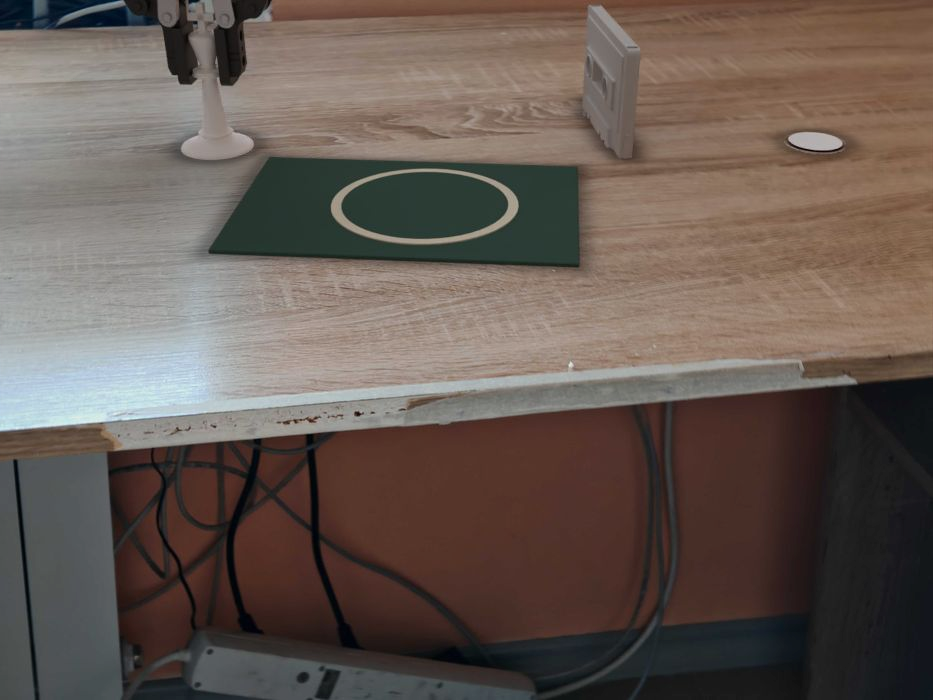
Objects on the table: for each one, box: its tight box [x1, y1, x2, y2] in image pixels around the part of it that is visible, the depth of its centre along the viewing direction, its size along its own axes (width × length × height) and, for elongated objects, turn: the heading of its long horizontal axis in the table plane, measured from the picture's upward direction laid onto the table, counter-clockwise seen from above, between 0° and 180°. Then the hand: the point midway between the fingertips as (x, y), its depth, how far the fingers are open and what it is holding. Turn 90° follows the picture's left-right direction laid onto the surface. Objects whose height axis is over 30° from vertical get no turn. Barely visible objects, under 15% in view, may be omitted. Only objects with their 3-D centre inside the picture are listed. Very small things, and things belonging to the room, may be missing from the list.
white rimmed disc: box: [783, 131, 847, 155], centre depth 73 cm, size 4×4×1 cm
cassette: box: [581, 4, 642, 160], centre depth 74 cm, size 12×2×8 cm, turn 7°
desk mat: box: [207, 156, 580, 268], centre depth 64 cm, size 20×14×1 cm
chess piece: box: [180, 1, 255, 161], centre depth 70 cm, size 5×5×10 cm
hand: (210, 80), depth 70 cm, fingers closed on chess piece
